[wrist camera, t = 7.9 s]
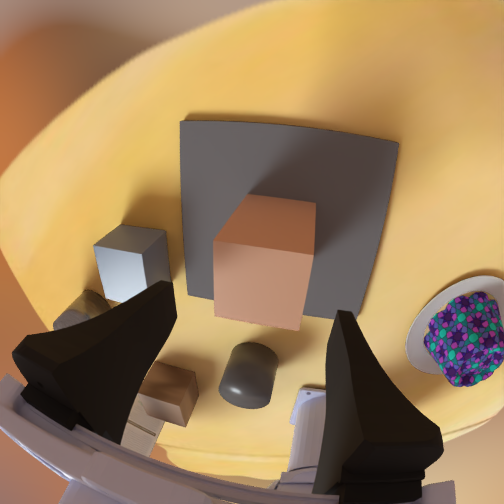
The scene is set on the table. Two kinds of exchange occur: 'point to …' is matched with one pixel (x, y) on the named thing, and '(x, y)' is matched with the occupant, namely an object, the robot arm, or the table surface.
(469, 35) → the table surface
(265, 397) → the charcoal cylinder
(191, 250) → the charcoal mat
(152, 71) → the table surface
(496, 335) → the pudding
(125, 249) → the slate blue block
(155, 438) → the syrup box
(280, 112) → the table surface
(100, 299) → the dark steel can
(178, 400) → the walnut block
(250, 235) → the terracotta block
